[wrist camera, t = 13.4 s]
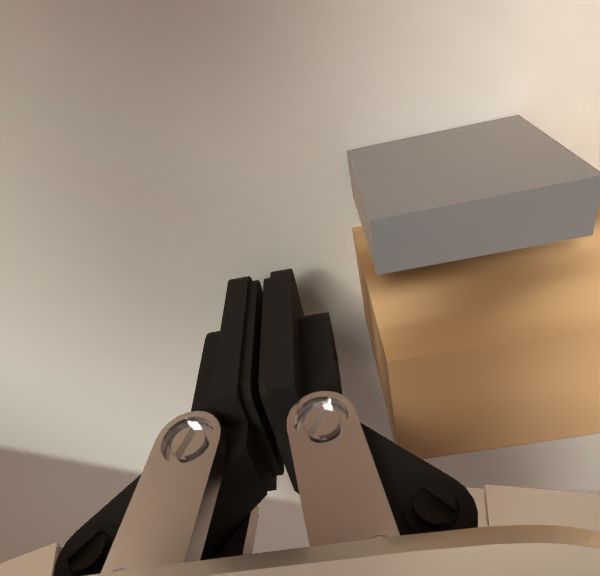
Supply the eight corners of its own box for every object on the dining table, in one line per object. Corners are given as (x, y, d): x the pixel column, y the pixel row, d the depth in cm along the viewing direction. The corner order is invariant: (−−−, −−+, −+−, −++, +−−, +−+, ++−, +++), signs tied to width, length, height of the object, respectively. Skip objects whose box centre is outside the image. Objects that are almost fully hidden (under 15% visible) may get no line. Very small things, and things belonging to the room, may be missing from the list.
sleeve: (377, 360, 15) (399, 454, 12) (346, 151, 11) (369, 220, 8) (501, 340, 15) (553, 432, 12) (518, 114, 11) (604, 174, 8)
